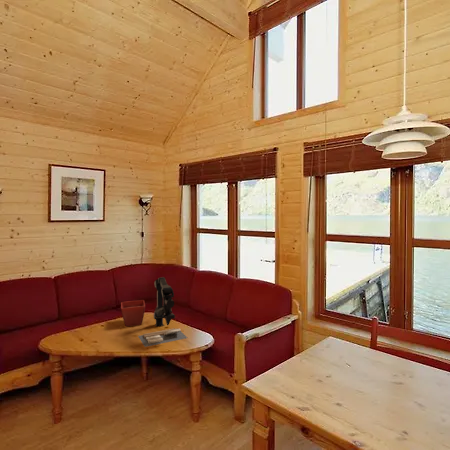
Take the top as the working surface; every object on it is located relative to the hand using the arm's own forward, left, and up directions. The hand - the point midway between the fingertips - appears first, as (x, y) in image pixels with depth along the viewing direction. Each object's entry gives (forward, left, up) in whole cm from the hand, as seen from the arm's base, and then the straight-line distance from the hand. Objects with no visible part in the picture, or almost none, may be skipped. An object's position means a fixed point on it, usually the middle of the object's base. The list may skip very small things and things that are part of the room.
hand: (167, 324), depth 240 cm
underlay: (-5, -3, -11) cm, 12 cm away
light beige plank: (-2, -10, -10) cm, 14 cm away
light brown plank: (-11, -3, -11) cm, 15 cm away
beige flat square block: (-3, +4, -8) cm, 9 cm away
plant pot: (-47, -16, -11) cm, 51 cm away
